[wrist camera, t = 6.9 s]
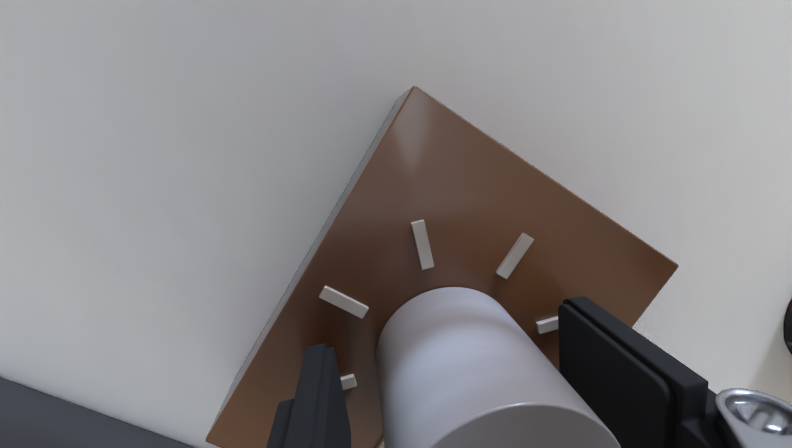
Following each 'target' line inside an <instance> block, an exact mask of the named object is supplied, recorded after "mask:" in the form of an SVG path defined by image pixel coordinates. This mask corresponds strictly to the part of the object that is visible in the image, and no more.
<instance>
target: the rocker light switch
mask: <svg viewBox="0 0 792 448" xmlns="http://www.w3.org/2000/svg"><path fill="white" fill-rule="evenodd" d="M0 448H193V447H191V446H188V445H185V444H182V443H180V442H177V441H174V440H171V439H168V438H166V437H163V436H160V435H157V434H155V433H152V432H149V431H146V430H143V429H141V428H138V427H135V426H132V425H130V424H127V423H124V422H121V421H118V420H116V419H113V418H110V417H107V416H105V415H102V414H99V413H96V412H93V411H91V410H88V409H85V408H82V407H80V406H77V405H74V404H71V403H68V402H66V401H63V400H60V399H57V398H54V397H52V396H49V395H46V394H43V393H41V392H38V391H35V390H32V389H29V388H27V387H24V386H21V385H18V384H16V383H13V382H10V381H7V380H4V379H2V378H0Z"/></svg>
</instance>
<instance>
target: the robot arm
mask: <svg viewBox="0 0 792 448" xmlns="http://www.w3.org/2000/svg"><path fill="white" fill-rule="evenodd" d="M558 332H559V372H560V374H561V375H562V376H563V377H564V378H565V379H566V381H567V382H568V383H569V384H570V385H571V386H572V388H573V389H574V390H575V391H576V392H577V393H578V394H579V396H580V397H581V398H582V399H583V400H584V401H585V403H586V404H587V405H588V406H589V407H590V408H591V409H592V411H593V412H594V413H595V414H596V415H597V416H598V418H599V419H600V420H601V421H602V422H603V423H604V424H605V426H606V427H607V428H608V429H609V430H610V431H611V433H612V434H613V435H614V436H615V438H616V440H617V441H618V443H619V444H620V446H621V448H792V405H791V404H789V403H788V402H786V401H784V400H781V399H779V398H777V397H774V396H772V395H769V394H766V393H763V392H759V391H755V390H749V389H743V388H731V389H727V390H723V391H721V392H720V393H718V394H715V393H714V392H712V391H711V390H710V389H708V381H707V380H705V379H704V378H702V377H701V376H699V375H698V374H697V373H695V372H694V371H692V370H691V369H689V368H688V367H687V366H685V365H684V364H682V363H681V362H679V361H678V360H676V359H675V358H674V357H672V356H671V355H669V354H668V353H666V352H665V351H664V350H662V349H661V348H659V347H658V346H656V345H655V344H653V343H652V342H651V341H649V340H648V339H646V338H645V337H643V336H642V335H641V334H639V333H638V332H636V331H635V330H633V329H632V328H631V327H629V326H628V325H626V324H625V323H623V322H622V321H620V320H619V319H618V318H616V317H615V316H613V315H612V314H610V313H609V312H608V311H606V310H605V309H603V308H602V307H600V306H599V305H597V304H596V303H595V302H593V301H592V300H590V299H589V298H587V297H586V296H579V297H573V298H568V299H565V300H563V303H562V305H560V306H559V307H558ZM266 448H351V428H350V422H349V417H348V412H347V407H346V403H345V398H344V393H343V388H342V383H341V378H340V373H339V368H338V363H337V358H336V353H335V349H334V347H331V348H327V345H326V343H324V344H318V345H313V346H307V347H306V348H305V353H304V357H303V362H302V366H301V371H300V375H299V380H298V384H297V389H296V393H295V398H294V399H289V400H283V401H281V402H279V404H278V407H277V410H276V414H275V418H274V421H273V425H272V428H271V432H270V436H269V439H268V443H267V446H266Z"/></svg>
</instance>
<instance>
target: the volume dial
mask: <svg viewBox="0 0 792 448" xmlns="http://www.w3.org/2000/svg"><path fill="white" fill-rule="evenodd" d="M376 368H377V378H378V388H379V398H380V407H381V417H382V427H383V437H384V447H385V448H621V446H620V444H619V443H618V441H617V440H616V438H615V436H614V435H613V434H612V433H611V431H610V430H609V429H608V428H607V427H606V426H605V424H604V423H603V422H602V421H601V420H600V419H599V418H598V416H597V415H596V414H595V413H594V412H593V411H592V409H591V408H590V407H589V406H588V405H587V404H586V403H585V401H584V400H583V399H582V398H581V397H580V396H579V394H578V393H577V392H576V391H575V390H574V389H573V388H572V386H571V385H570V384H569V383H568V382H567V381H566V379H565V378H564V377H563V376H562V375H561V374H560V373H559V371H558V370H557V369H556V368H555V367H554V366H553V364H552V363H551V362H550V361H549V360H548V359H547V358H546V356H545V355H544V354H543V353H542V352H541V351H540V349H539V348H538V347H537V346H536V345H535V344H534V343H533V341H532V340H531V339H530V338H529V337H528V336H527V334H526V333H525V332H524V331H523V330H522V329H521V328H520V326H519V325H518V324H517V323H516V322H515V321H514V319H513V318H512V317H511V316H510V315H509V314H508V313H507V311H506V310H505V309H504V308H503V307H502V306H501V305H500V304H499V303H498V302H497V301H496V300H494V299H493V298H491V297H490V296H488V295H486V294H484V293H482V292H479V291H477V290H473V289H469V288H462V287H445V288H439V289H434V290H430V291H428V292H425V293H422V294H420V295H418V296H416V297H414V298H412V299H411V300H409V301H408V302H406V303H405V304H404V305H403V306H401V307H400V308H399V309H398V310H397V311H396V312H395V313H394V314H393V315H392V316H391V318H390V319H389V320H388V322H387V323H386V325H385V327H384V329H383V330H382V332H381V335H380V338H379V340H378V344H377V349H376Z"/></svg>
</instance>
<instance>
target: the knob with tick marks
mask: <svg viewBox="0 0 792 448" xmlns="http://www.w3.org/2000/svg"><path fill="white" fill-rule="evenodd" d="M677 268H678V264H676V263H675V262H673V261H672V260H670V259H669V258H668V257H666V256H665V255H663V254H662V253H660V252H659V251H657V250H656V249H654V248H653V247H651V246H650V245H648V244H647V243H645V242H644V241H643V240H641V239H640V238H638V237H637V236H635V235H634V234H632V233H631V232H629V231H628V230H626V229H625V228H623V227H622V226H620V225H619V224H618V223H616V222H615V221H613V220H612V219H610V218H609V217H607V216H606V215H604V214H603V213H601V212H600V211H598V210H597V209H595V208H594V207H593V206H591V205H590V204H588V203H587V202H585V201H584V200H582V199H581V198H579V197H578V196H576V195H575V194H573V193H572V192H570V191H569V190H568V189H566V188H565V187H563V186H562V185H560V184H559V183H557V182H556V181H554V180H553V179H551V178H550V177H548V176H547V175H545V174H544V173H543V172H541V171H540V170H538V169H537V168H535V167H534V166H532V165H531V164H529V163H528V162H526V161H525V160H523V159H522V158H520V157H519V156H518V155H516V154H515V153H513V152H512V151H510V150H509V149H507V148H506V147H504V146H503V145H501V144H500V143H498V142H497V141H496V140H494V139H493V138H491V137H490V136H488V135H487V134H485V133H484V132H482V131H481V130H479V129H478V128H476V127H475V126H473V125H472V124H471V123H469V122H468V121H466V120H465V119H463V118H462V117H460V116H459V115H457V114H456V113H454V112H453V111H451V110H450V109H448V108H447V107H446V106H444V105H443V104H441V103H440V102H438V101H437V100H435V99H434V98H432V97H431V96H429V95H428V94H426V93H425V92H423V91H422V90H421V89H419V88H418V87H416V86H413V87H411V88H410V89H409V90H408V91H406V92H405V93H404V94H403V95H401V96H400V97H399V98H398V99H397V101H396V103H395V105H394V106H393V108H392V110H391V111H390V113H389V115H388V117H387V118H386V120H385V122H384V123H383V125H382V127H381V129H380V130H379V132H378V134H377V135H376V137H375V139H374V141H373V142H372V144H371V146H370V147H369V149H368V151H367V153H366V154H365V156H364V158H363V159H362V161H361V163H360V165H359V166H358V168H357V170H356V171H355V173H354V175H353V177H352V178H351V180H350V182H349V183H348V185H347V187H346V189H345V190H344V192H343V194H342V195H341V197H340V199H339V201H338V202H337V204H336V206H335V207H334V209H333V211H332V213H331V214H330V216H329V218H328V219H327V221H326V223H325V225H324V226H323V228H322V230H321V231H320V233H319V235H318V237H317V238H316V240H315V242H314V243H313V245H312V247H311V249H310V250H309V252H308V254H307V255H306V257H305V259H304V261H303V262H302V264H301V266H300V267H299V269H298V271H297V273H296V274H295V276H294V278H293V279H292V281H291V283H290V285H289V286H288V288H287V290H286V291H285V293H284V295H283V297H282V298H281V300H280V302H279V303H278V305H277V307H276V309H275V310H274V312H273V314H272V315H271V317H270V319H269V321H268V322H267V324H266V326H265V327H264V329H263V331H262V333H261V334H260V336H259V338H258V339H257V341H256V343H255V345H254V346H253V348H252V350H251V351H250V353H249V355H248V357H247V358H246V360H245V362H244V363H243V365H242V367H241V369H240V370H239V372H238V374H237V375H236V377H235V379H234V381H233V383H232V385H231V387H230V389H229V392H228V394H227V396H226V398H225V400H224V402H223V404H222V406H221V408H220V410H219V412H218V414H217V416H216V419H215V421H214V423H213V425H212V427H211V429H210V431H209V433H208V435H207V437H206V442H208V443H211V444H214V445H216V446H219V447H222V448H266V446H267V443H268V439H269V436H270V432H271V428H272V425H273V421H274V418H275V414H276V410H277V407H278V404H279V402H281V401H283V400H289V399H294V398H295V393H296V389H297V384H298V380H299V375H300V371H301V366H302V362H303V357H304V353H305V348H306V347H307V346H313V345H318V344H324V343H326V345H327V348H331V347H334V349H335V353H336V358H337V363H338V368H339V373H340V378H341V383H342V388H343V393H344V398H345V403H346V407H347V412H348V417H349V422H350V428H351V448H385V447H384V437H383V427H382V417H381V407H380V398H379V388H378V378H377V368H376V349H377V344H378V340H379V338H380V335H381V332H382V330H383V329H384V327H385V325H386V323H387V322H388V320H389V319H390V318H391V316H392V315H393V314H394V313H395V312H396V311H397V310H398V309H399V308H400V307H401V306H403V305H404V304H405V303H406V302H408V301H409V300H411V299H412V298H414V297H416V296H418V295H420V294H422V293H425V292H428V291H430V290H434V289H439V288H445V287H462V288H469V289H473V290H477V291H479V292H482V293H484V294H486V295H488V296H490V297H491V298H493V299H494V300H496V301H497V302H498V303H499V304H500V305H501V306H502V307H503V308H504V309H505V310H506V311H507V313H508V314H509V315H510V316H511V317H512V318H513V319H514V321H515V322H516V323H517V324H518V325H519V326H520V328H521V329H522V330H523V331H524V332H525V333H526V334H527V336H528V337H529V338H530V339H531V340H532V341H533V343H534V344H535V345H536V346H537V347H538V348H539V349H540V351H541V352H542V353H543V354H544V355H545V356H546V358H547V359H548V360H549V361H550V362H551V363H552V364H553V366H554V367H555V368H556V369H557V370H558V371H559V332H558V307H559V306H560V305H562V303H563V300H565V299H568V298H573V297H579V296H586V297H587V298H589V299H590V300H592V301H593V302H595V303H596V304H597V305H599V306H600V307H602V308H603V309H605V310H606V311H608V312H609V313H610V314H612V315H613V316H615V317H616V318H618V319H619V320H620V321H622V322H623V323H625V324H626V325H628V326H629V327H631V328H632V327H633V325H634V324H635V323H636V321H637V320H638V319H639V317H640V316H641V315H642V314H643V312H644V311H645V310H646V308H647V307H648V306H649V304H650V303H651V302H652V301H653V299H654V298H655V297H656V295H657V294H658V293H659V291H660V290H661V289H662V288H663V286H664V285H665V284H666V282H667V281H668V280H669V278H670V277H671V276H672V275H673V273H674V272H675V271H676V269H677ZM559 373H560V372H559Z"/></svg>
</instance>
